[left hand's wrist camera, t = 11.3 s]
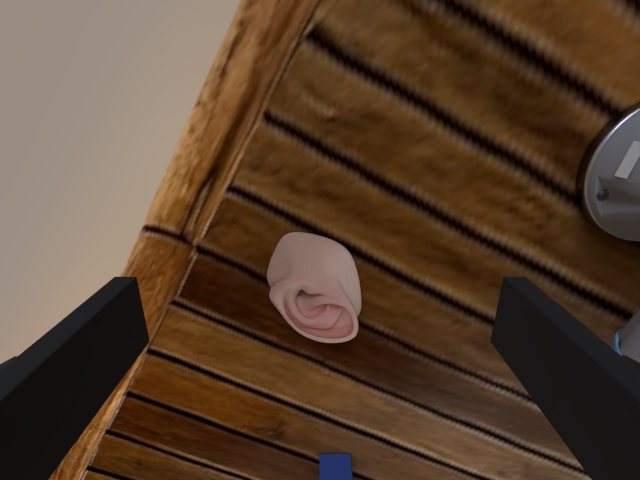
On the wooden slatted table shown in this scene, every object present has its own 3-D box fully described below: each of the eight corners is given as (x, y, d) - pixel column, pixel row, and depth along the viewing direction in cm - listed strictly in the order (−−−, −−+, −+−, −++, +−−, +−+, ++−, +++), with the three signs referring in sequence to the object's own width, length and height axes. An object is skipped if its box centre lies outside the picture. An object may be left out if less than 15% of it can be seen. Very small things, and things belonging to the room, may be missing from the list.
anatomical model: (257, 244, 37) (366, 242, 37) (263, 232, 41) (362, 229, 41) (267, 348, 42) (364, 346, 41) (271, 329, 45) (360, 327, 45)
